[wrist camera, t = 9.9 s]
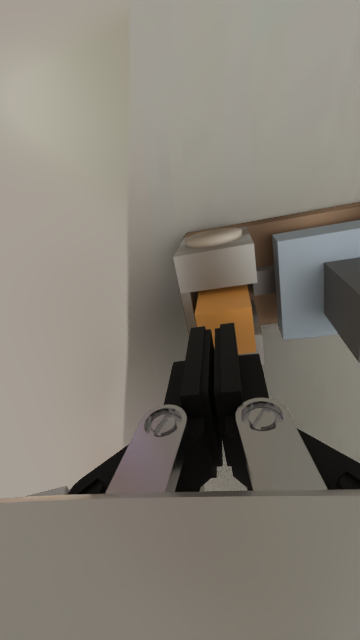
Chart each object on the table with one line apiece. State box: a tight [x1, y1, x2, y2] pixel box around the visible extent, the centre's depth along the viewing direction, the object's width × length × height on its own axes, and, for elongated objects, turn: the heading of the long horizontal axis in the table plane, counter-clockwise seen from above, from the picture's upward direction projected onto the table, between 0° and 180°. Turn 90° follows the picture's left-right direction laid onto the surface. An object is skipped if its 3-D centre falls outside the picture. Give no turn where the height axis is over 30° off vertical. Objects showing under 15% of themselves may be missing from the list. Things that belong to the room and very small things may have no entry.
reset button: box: [195, 284, 256, 354], centre depth 16 cm, size 3×2×4 cm
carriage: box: [272, 220, 360, 362], centre depth 15 cm, size 7×6×7 cm
